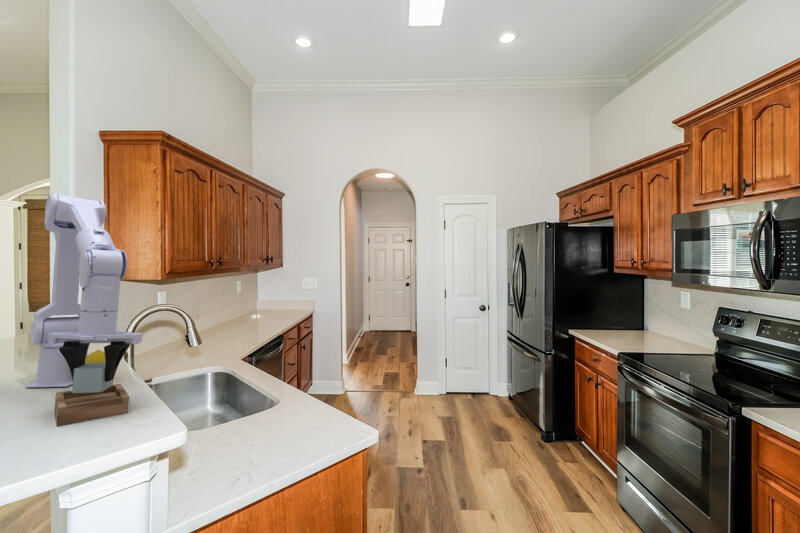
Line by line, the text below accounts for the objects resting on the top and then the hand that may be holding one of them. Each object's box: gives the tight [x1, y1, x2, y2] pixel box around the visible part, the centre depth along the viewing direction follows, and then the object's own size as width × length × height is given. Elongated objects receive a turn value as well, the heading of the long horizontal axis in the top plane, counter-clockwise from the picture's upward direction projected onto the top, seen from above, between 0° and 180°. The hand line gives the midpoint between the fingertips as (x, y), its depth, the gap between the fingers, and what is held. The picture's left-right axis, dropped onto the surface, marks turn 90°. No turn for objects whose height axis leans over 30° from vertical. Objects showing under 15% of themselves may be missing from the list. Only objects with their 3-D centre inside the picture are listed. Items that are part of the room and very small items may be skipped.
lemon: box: [85, 349, 106, 364], centre depth 85 cm, size 6×6×8 cm
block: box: [71, 363, 114, 393], centre depth 69 cm, size 4×4×4 cm
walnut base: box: [53, 383, 130, 427], centre depth 69 cm, size 10×10×3 cm
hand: (93, 380), depth 69 cm, fingers closed on block, 4 cm apart
